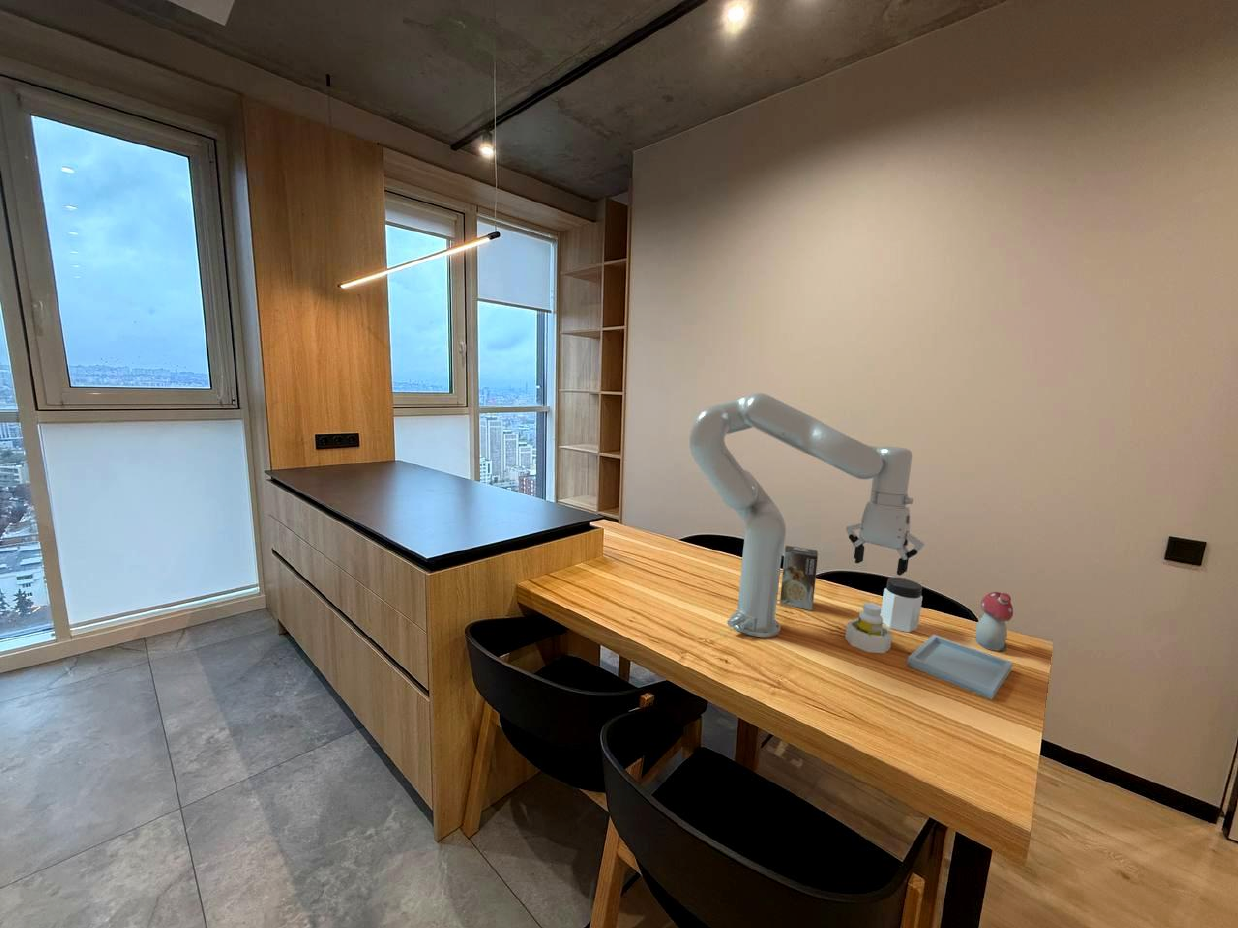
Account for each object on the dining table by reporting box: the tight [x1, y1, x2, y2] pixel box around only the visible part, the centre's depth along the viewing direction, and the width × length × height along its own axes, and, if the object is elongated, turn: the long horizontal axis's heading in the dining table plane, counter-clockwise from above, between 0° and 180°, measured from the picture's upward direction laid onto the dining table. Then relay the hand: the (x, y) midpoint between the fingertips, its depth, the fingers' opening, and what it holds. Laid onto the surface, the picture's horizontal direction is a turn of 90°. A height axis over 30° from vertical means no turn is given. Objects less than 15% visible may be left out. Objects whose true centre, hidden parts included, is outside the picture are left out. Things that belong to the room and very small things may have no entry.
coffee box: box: [779, 545, 819, 611], centre depth 142 cm, size 9×6×16 cm
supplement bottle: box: [857, 602, 884, 636], centre depth 121 cm, size 5×5×10 cm
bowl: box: [845, 618, 893, 654], centre depth 122 cm, size 9×9×4 cm
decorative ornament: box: [975, 591, 1014, 652], centre depth 124 cm, size 9×7×15 cm
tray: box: [906, 634, 1013, 700], centre depth 113 cm, size 18×16×2 cm
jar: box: [880, 576, 923, 633], centre depth 132 cm, size 9×8×12 cm
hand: (879, 567), depth 119 cm, fingers open, 9 cm apart
